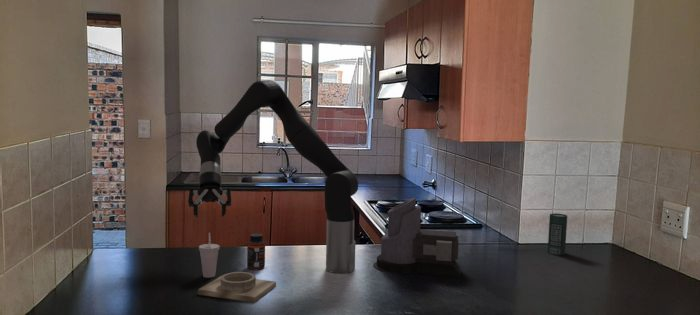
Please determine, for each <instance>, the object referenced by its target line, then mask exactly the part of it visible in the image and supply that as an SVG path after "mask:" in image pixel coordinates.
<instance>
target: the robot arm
mask: <svg viewBox="0 0 700 315" xmlns="http://www.w3.org/2000/svg"><path fill="white" fill-rule="evenodd" d="M268 107H269V108H270V109H271V110H272V111H273V112H274V113H275V114H276V115H277V117H278V118H279V120H280V121H281V123H282V127H283V130H284V134H285V136H286V139H287V140H288V142H289V143H290V145H291V146H292V147H293V148H294V149H295V150H296V152H297V153H298V154H299V155H301V157H302V158H304V159H305V160H307V161H308V162H309V163H311V164H313V165H314V166H316V167H317V169H319V170H320V171H321V172H322V173H323V174H324V176H326V180H325V183H324V210H325V211H324V212H325V213H326V242H325V243H326V245H325V246H326V247H325V271H327V272H329V273H333V274H334V273H335V274H351V273H352V272H353V271H354V269H355V268H356V240H355V211H354V209H353V208H352V199H351V198H352V196H354V195H355V194H356V193H357V192H358V190H359V181H358V178H357V176H356V175H355V174H354V172H352V170H350V169H349V168H348V167H347V166H346V165H345V164H344V163H343V162H342V160H340V159H339V158H338V157H337V156H336V155H335V153H333V151H332V150H331V148H330V147H329V146H328V145H327V143H326V142H325V141H324V140H323V139H322V138H321V136H320V135H319V133H317V131H316V130H315V129H314V127H313V126H312V125H311V124H310V123H309V122H308V121H307V119H306V118H304V115H302V114H301V113H300V111H299V110H298V109H297V108H296V107H295V106H294V104H293V102H292V101H291V100H290V98H289V97H288V96H287V93H286V92H285V91H284V89H283V88H282V86H280V84H279V83H277V81H274V80H271V79H269V80H266V79H265V80H257V81H254V82H253V83H252V84H251V85H250V86H249V87H248V89H247V90H246V92H245V93H244V94H243V96H241V98H240V100H239V101H237V103H236V104H235V105H234V107H233V108H232V109H231V110H230V111H229V112H228V113H227V114H226V115H225V116H224V117H223V118H222V119H220V120H219V122H217V123H216V125H215V126H214V129H213V130H214V133H213V132H212V131H209V130H208V129H207V130H206V129H205V130H202V131H200V132H199V133H198V134H197V136H196V141H195V143H196V145H195V146H196V148H197V149H196V150H197V151H198V155H199V158H200V167H199V177H198V178H199V179H198V180H199V181H198V184H199V186H198V189H193V188H190V189H189V191H188V192H189V194H188V201H187V202H188V203H187V205H188V207H189V208H190V207H192V208H193V213H192V214H193V216H195V218H198V216H199V206H201V205H202V204H203V203H204V202H205V203H216V202H217V203H218V205H220V206H221V217H224V216H225V215H227V207H231V206H232V193H231V188H229V187H227V188H226V189H222V168H221V155H220V154H221V153H222V152H223V151H224V150H225V148H226V146H227V144H228V142H229V141H230V139H231V138H232V137H233V136H234V135H235V134H236V133H238V131H240V130H241V129H242V127H244V125H245V123H246V120H247V118H248V117H249V116H250V115H251V114H253V113H254V112H255V111H257V110H259V109H260V108H261V109H262V108H268ZM223 195H224V196H225V197H226V200H225V199H224V198H223ZM196 196H198V197H197V199H196V200H195V201H194V198H195V197H196Z"/></svg>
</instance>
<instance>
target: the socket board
mask: <svg viewBox="0 0 700 315" xmlns="http://www.w3.org/2000/svg"><path fill="white" fill-rule="evenodd" d="M276 287H277V281H274V280H268V279H267V280H266V279H258V278H256V274H254V273H252V272H247V271H246V272H245V271H233V272H229V273H224V274H223V275H220V276H219V277H216V279H214V280H212V281H210V282H209V283H207V284H205V285H203V286H202V287H200V288H198V289H197V295H198V296H205V297H214V298H220V299H227V300H236V301H242V302H243V301H244V302H248V303H249V302H250V303H256V302H258V301H259V300H260V299H262V298H263V297H264V296H265V295H267V294H268V293H270V291H272V290H273V289H275V288H276Z"/></svg>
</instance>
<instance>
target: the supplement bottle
mask: <svg viewBox="0 0 700 315" xmlns="http://www.w3.org/2000/svg"><path fill="white" fill-rule="evenodd" d="M249 238H250V240H248V241H247V245H246V246H247V248H246V249H247V250H246V251H247V252H246V256H247V257H246V258H247V259H246V261H247V262H246V265H247V266H246V267H247V268H248V270H255V271H257V270H263V269H264V268H265V267H266V242H265V241H264V239H263V234H262V233H251V234H250V236H249Z"/></svg>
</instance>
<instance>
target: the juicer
mask: <svg viewBox="0 0 700 315" xmlns="http://www.w3.org/2000/svg"><path fill="white" fill-rule="evenodd" d="M416 199H417V198H416V197H412V198H409V199H407V200H405V201H403V202H401V203H399V204H398V205H395V206H394V207H392V208H390V209H389V210H388V211H387V217H388V218H387V220H388V221H387V222H388V225H387V227H388V228H387V232H386V233H385V234H384V235H382V236H381V239H380V240H381V241H380V242H381V246H380V247H381V248H380V254H379V255H377V257H376V261H375V262H374V263H373V264H372V267H373V268H374V269H375V270H376V271H379V272H387V273H393V274H400V275H401V274H402V275H403V274H404V275H405V274H406V275H407V274H409V275H410V274H424V275H425V274H426V275H432V276H433V275H435V276H445V277H458V278H459V277H460V278H461V265H460V264H459V263H458V262H457V260H458V259H459V244H460V243H459V241H460V240H459V237H460V236H459V235H457V231H449V230H436V229H435V230H433V229H421V216H422V215H421V213H422V207H421V206H420V205H416V204H417V203H416V201H417V200H416Z"/></svg>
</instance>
